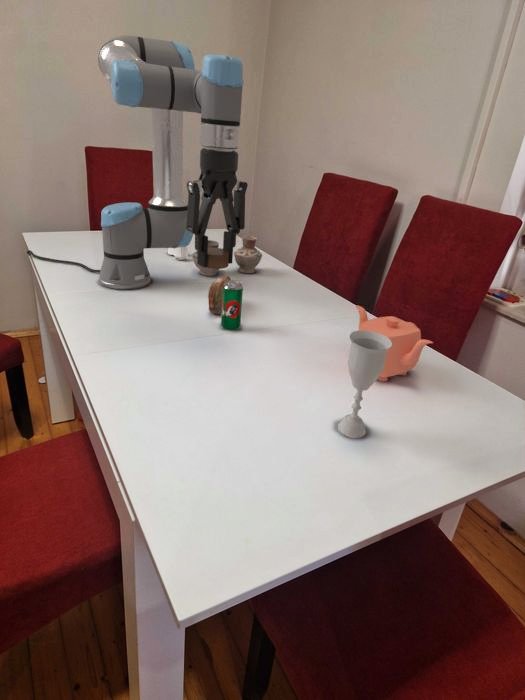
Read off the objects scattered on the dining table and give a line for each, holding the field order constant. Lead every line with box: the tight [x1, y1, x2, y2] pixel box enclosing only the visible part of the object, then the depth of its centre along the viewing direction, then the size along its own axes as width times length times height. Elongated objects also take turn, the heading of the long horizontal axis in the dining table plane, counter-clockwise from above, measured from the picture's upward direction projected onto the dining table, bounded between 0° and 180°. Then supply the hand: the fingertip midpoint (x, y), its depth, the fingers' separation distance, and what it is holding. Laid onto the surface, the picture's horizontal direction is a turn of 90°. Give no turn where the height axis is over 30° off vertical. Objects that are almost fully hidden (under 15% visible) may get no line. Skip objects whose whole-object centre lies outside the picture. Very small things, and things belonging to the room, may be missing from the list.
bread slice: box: [207, 275, 231, 315], centre depth 126 cm, size 15×3×8 cm, turn 168°
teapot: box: [355, 305, 434, 382], centre depth 101 cm, size 15×17×13 cm
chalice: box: [337, 330, 392, 439], centre depth 78 cm, size 7×7×18 cm
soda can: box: [220, 279, 244, 331], centre depth 115 cm, size 5×5×12 cm
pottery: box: [191, 235, 263, 277], centre depth 156 cm, size 11×25×12 cm, turn 116°
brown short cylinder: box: [207, 247, 230, 270], centre depth 99 cm, size 6×6×3 cm
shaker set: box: [167, 246, 189, 261], centre depth 167 cm, size 12×4×11 cm, turn 31°
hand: (215, 263), depth 99 cm, fingers closed on brown short cylinder, 6 cm apart
